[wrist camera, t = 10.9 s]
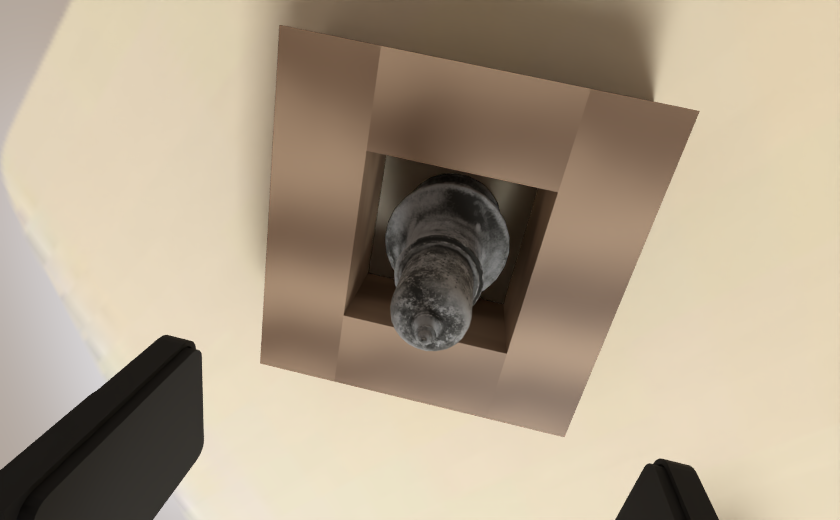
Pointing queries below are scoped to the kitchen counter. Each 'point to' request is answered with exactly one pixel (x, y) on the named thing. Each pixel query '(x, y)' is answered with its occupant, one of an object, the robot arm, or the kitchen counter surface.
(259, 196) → the kitchen counter surface
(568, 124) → the well block
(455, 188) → the dark stone chess piece
